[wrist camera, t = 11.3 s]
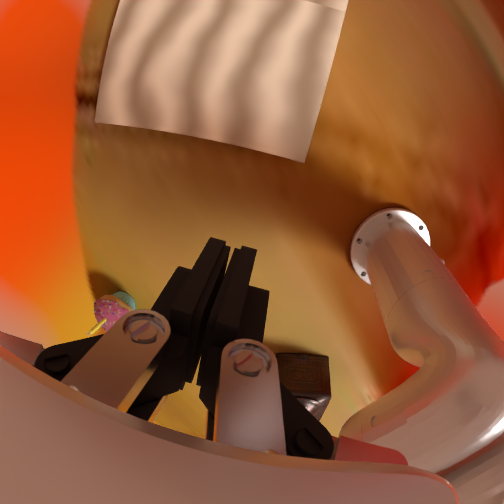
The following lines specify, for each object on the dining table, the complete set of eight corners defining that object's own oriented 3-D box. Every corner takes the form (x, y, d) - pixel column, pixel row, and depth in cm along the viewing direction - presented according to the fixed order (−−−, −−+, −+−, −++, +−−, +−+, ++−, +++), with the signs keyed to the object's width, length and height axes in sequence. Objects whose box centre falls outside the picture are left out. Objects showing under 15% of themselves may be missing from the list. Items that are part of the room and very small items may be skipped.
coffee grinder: (331, 353, 51) (337, 438, 35) (318, 387, 56) (319, 462, 41) (248, 345, 52) (231, 430, 37) (245, 380, 58) (231, 455, 42)
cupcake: (99, 290, 51) (66, 329, 41) (126, 276, 49) (92, 318, 38) (125, 323, 54) (98, 364, 44) (153, 312, 52) (127, 358, 41)
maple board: (357, -42, 21) (359, -47, 19) (303, 161, 36) (304, 163, 35) (150, -61, 21) (145, -64, 19) (100, 121, 36) (94, 122, 35)
